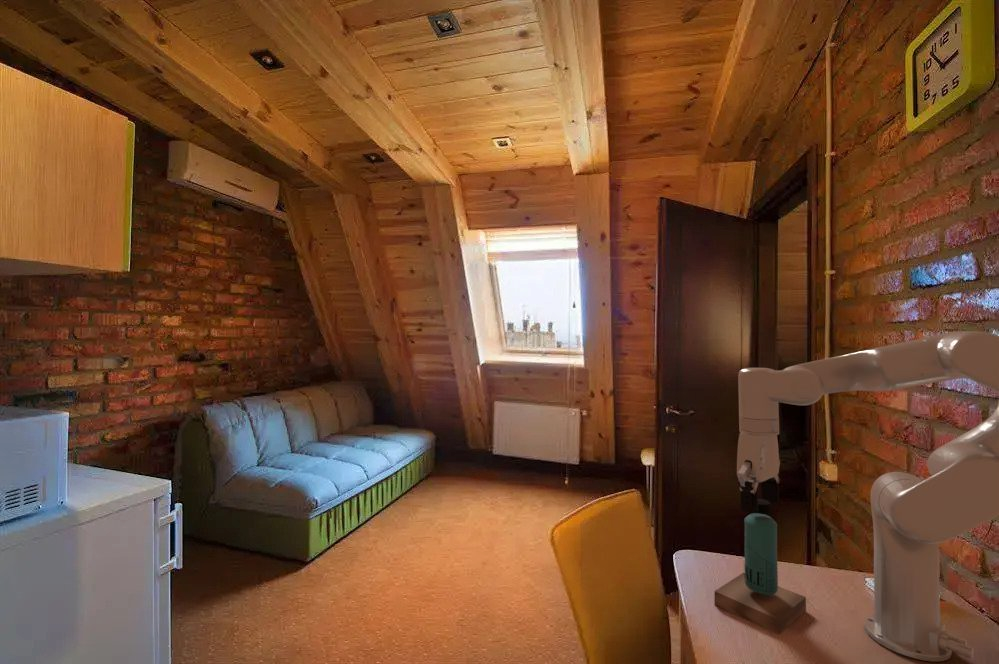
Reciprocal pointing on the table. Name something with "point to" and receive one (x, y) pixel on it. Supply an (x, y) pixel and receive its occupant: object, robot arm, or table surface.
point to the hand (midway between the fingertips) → (760, 505)
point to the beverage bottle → (761, 550)
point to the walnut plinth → (761, 605)
